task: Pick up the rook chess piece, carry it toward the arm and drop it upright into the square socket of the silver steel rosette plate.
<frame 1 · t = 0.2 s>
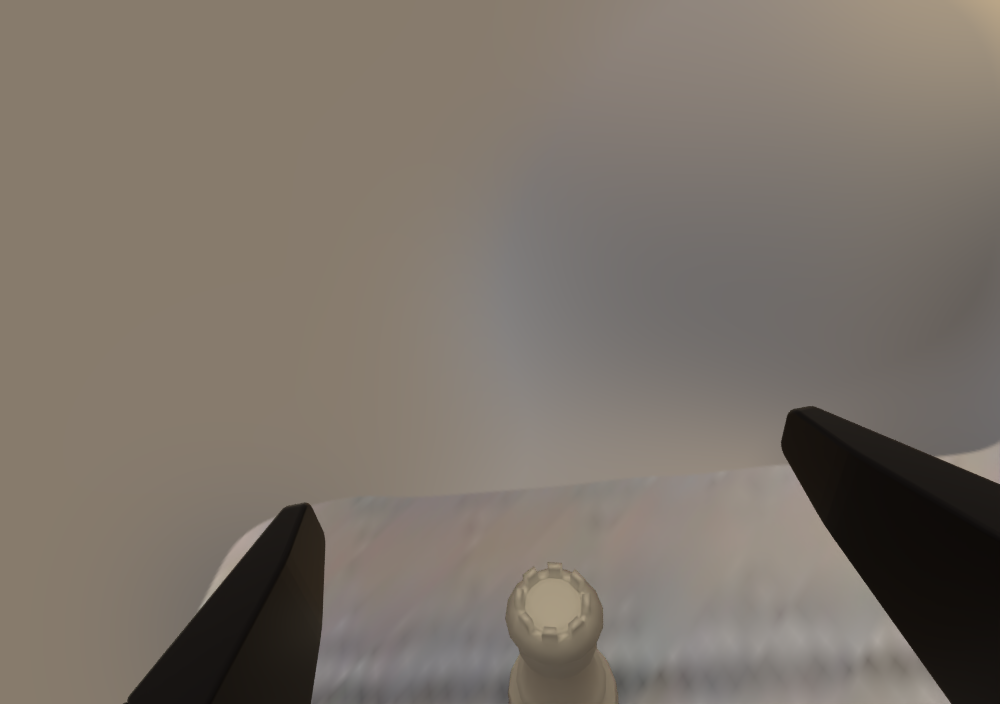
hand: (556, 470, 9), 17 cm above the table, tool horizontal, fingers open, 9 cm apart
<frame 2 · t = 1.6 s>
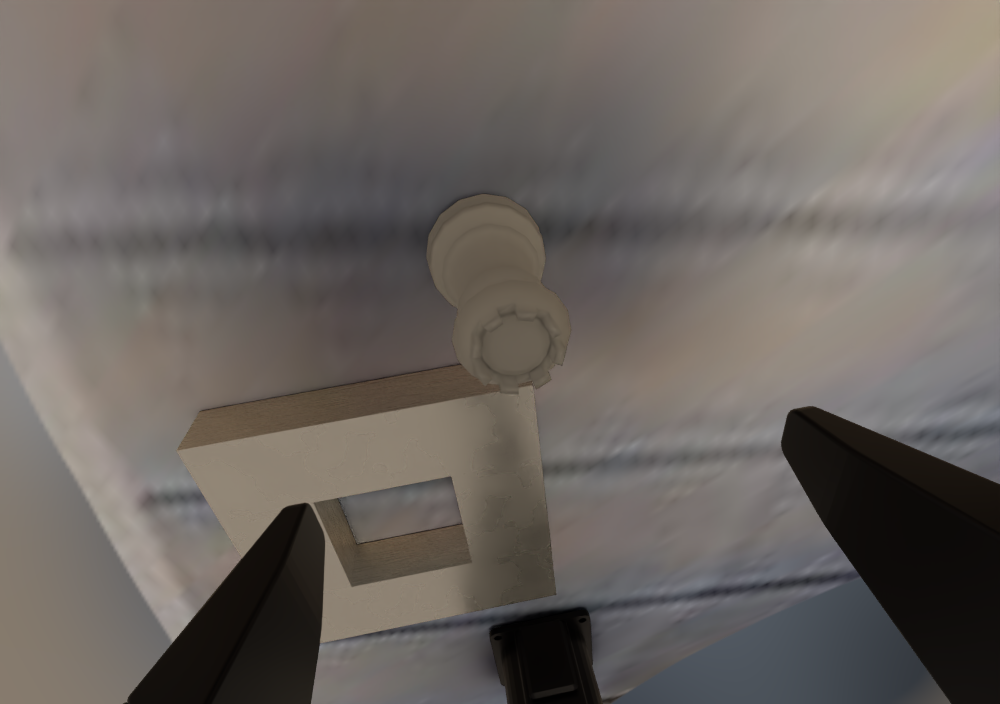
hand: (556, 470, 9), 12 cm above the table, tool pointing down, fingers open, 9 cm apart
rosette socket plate: (400, 494, 26), on the table
rook chess piece: (483, 247, 20), on the table
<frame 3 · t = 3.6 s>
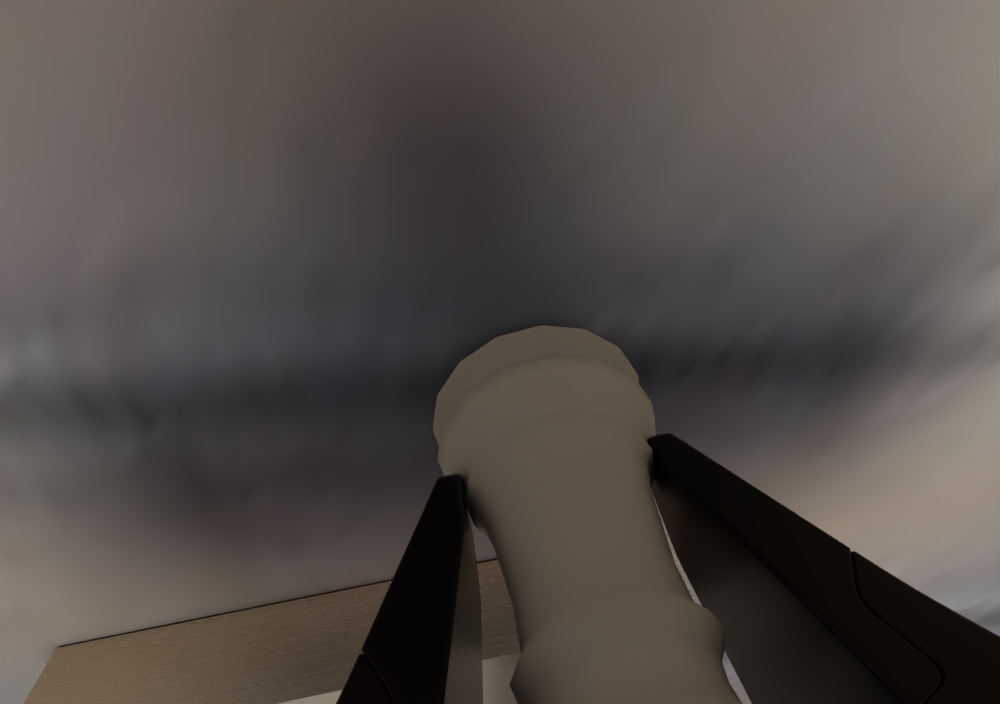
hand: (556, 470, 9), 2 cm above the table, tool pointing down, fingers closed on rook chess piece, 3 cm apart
rook chess piece: (532, 398, 11), on the table, touching gripper
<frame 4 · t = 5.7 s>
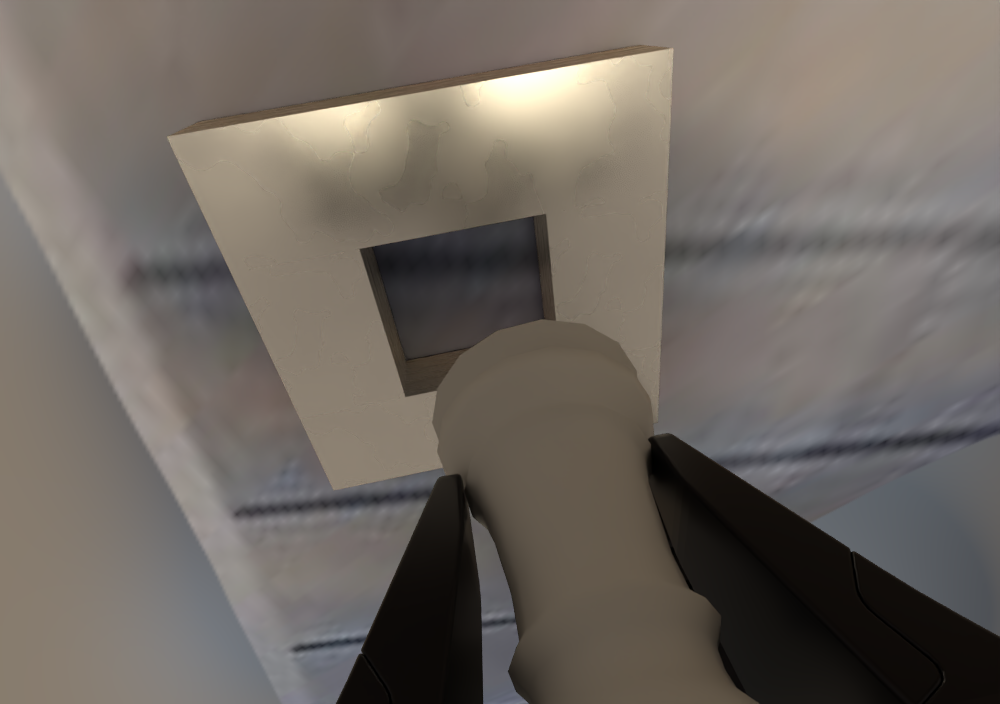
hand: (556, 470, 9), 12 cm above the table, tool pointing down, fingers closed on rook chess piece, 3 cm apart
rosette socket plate: (463, 282, 20), on the table
rook chess piece: (531, 393, 11), point 9 cm above the table, touching gripper
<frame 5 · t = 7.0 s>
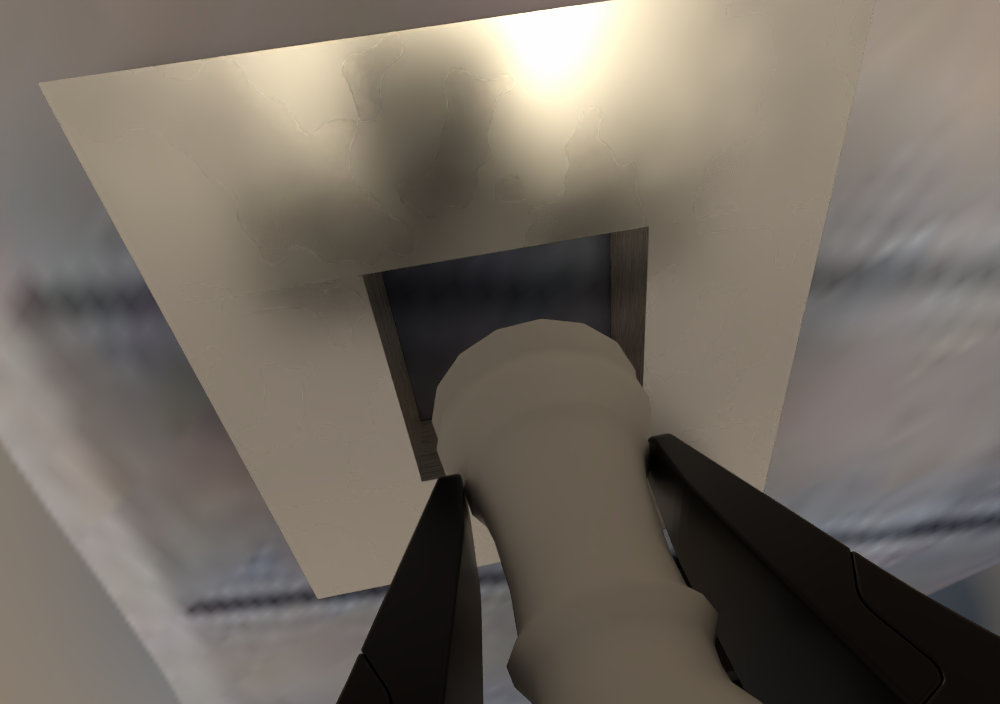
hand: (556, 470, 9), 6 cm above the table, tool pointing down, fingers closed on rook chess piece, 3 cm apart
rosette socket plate: (506, 319, 14), on the table
rook chess piece: (531, 392, 11), point 3 cm above the table, touching gripper
when the fingers open (3 cm above the table, at t = 8.1 s): rook chess piece drops 1 cm, resting in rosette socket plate.
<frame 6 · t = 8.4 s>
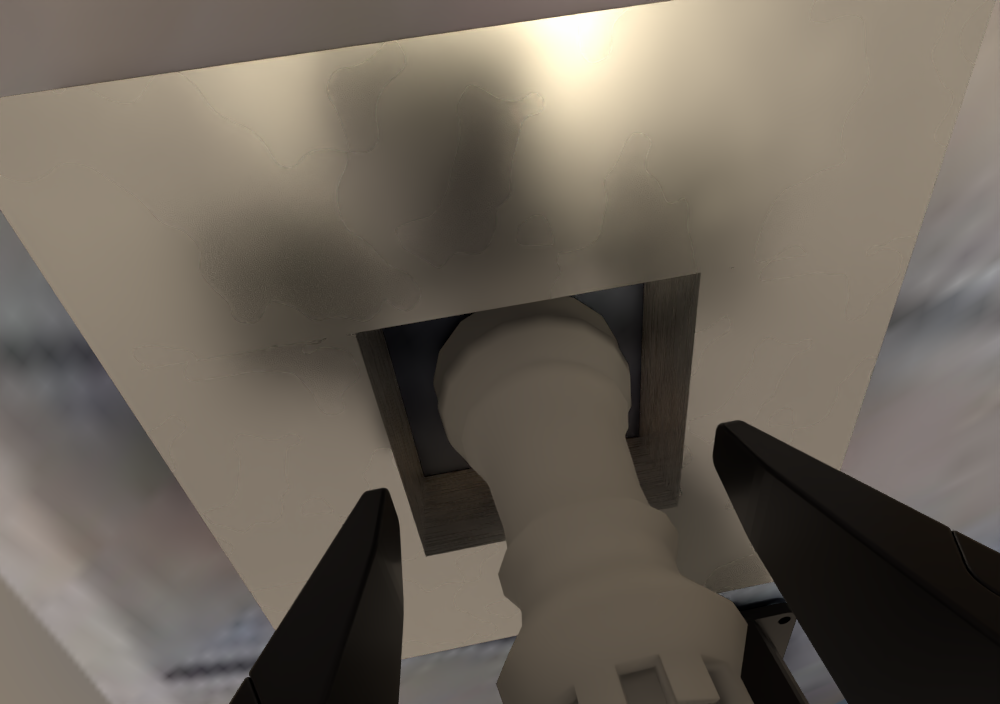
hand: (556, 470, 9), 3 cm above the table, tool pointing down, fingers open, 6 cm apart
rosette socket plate: (522, 366, 12), on the table
rook chess piece: (523, 362, 13), resting in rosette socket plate
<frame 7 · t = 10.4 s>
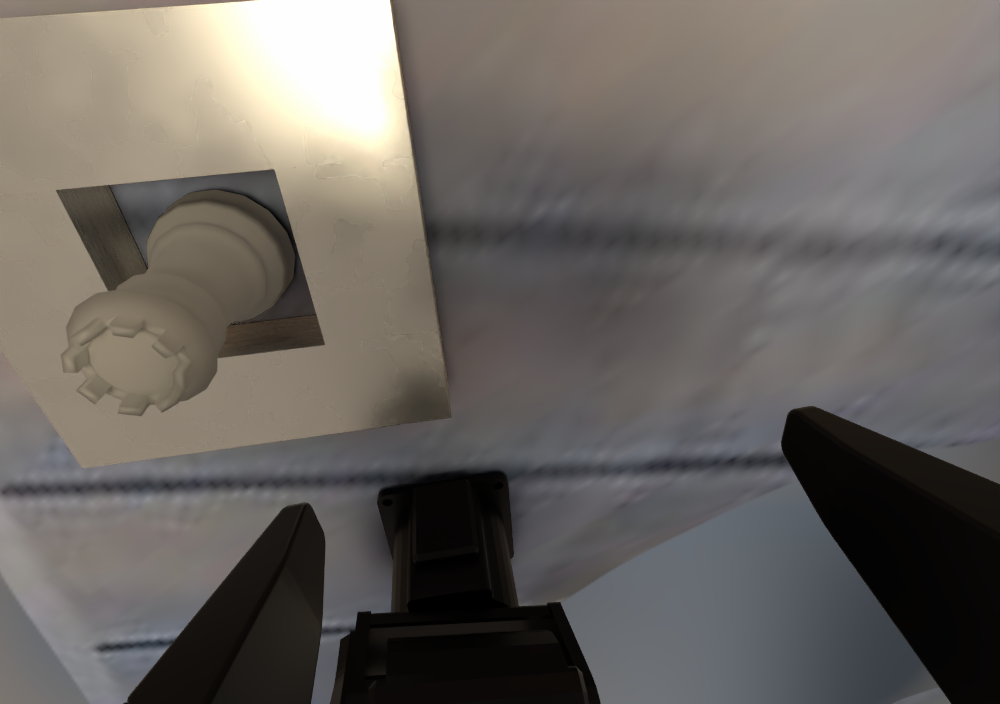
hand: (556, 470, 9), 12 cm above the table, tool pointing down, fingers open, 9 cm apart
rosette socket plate: (229, 248, 18), on the table
rook chess piece: (234, 247, 19), resting in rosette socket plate
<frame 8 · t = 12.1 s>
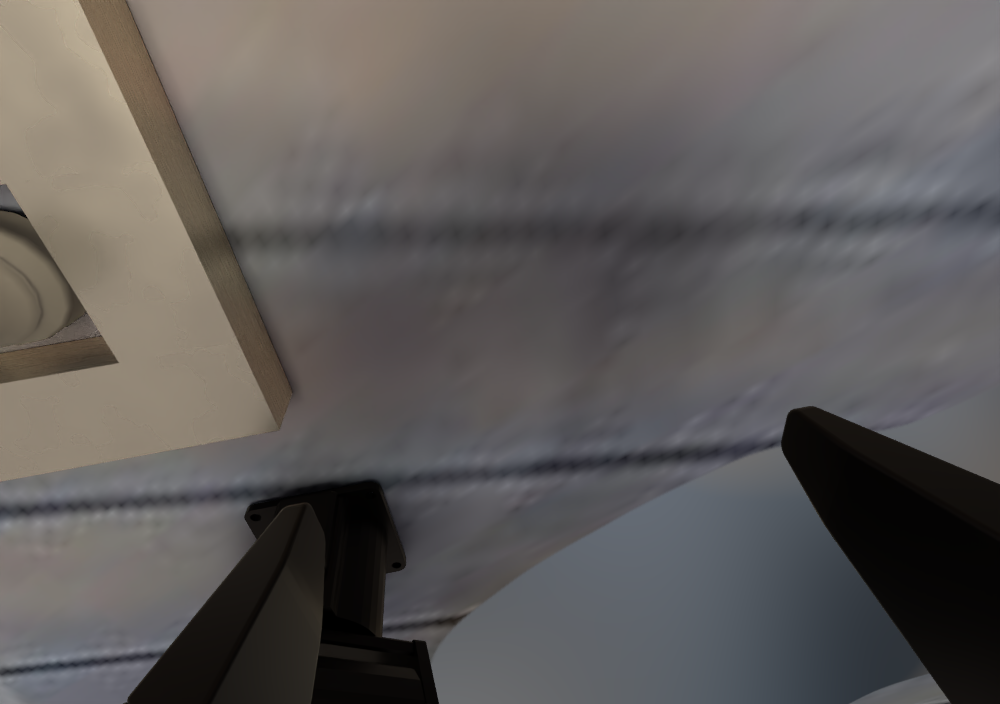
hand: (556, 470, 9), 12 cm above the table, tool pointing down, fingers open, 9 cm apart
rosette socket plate: (20, 268, 18), on the table
rook chess piece: (27, 266, 18), resting in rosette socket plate
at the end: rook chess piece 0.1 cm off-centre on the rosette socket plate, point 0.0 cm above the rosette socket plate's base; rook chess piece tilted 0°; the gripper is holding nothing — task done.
